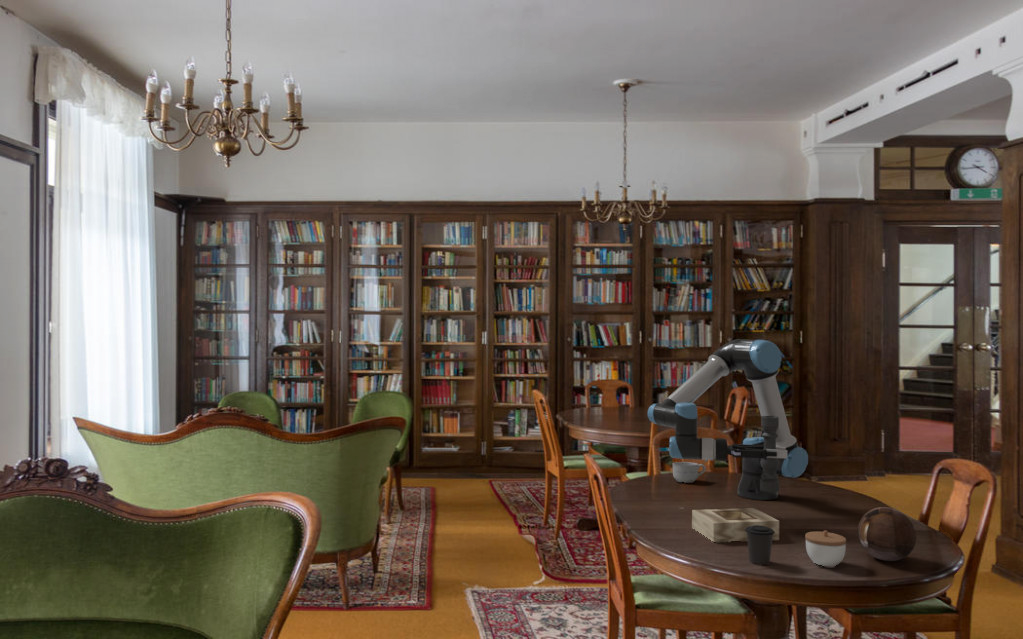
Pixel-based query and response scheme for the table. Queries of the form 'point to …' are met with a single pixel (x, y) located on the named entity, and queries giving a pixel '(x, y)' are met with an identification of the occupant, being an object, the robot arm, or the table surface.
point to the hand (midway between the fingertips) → (786, 452)
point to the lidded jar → (825, 547)
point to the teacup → (686, 471)
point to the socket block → (731, 523)
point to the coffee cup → (759, 543)
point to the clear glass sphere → (886, 534)
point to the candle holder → (771, 464)
